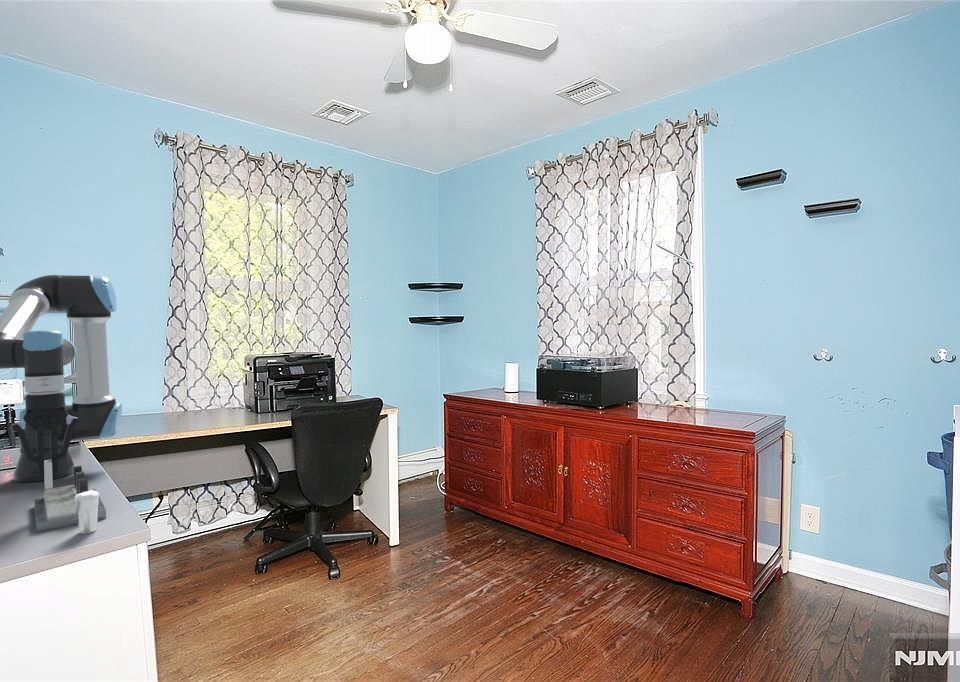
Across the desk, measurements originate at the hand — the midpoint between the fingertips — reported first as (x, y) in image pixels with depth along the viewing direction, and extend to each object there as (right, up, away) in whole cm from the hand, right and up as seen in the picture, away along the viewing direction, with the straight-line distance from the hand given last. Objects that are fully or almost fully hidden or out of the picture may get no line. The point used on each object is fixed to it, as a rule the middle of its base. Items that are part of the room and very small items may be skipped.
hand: (48, 487), depth 130 cm
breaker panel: (+3, -7, +3) cm, 8 cm away
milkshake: (+18, -7, -11) cm, 22 cm away
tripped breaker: (+5, -2, +4) cm, 7 cm away
